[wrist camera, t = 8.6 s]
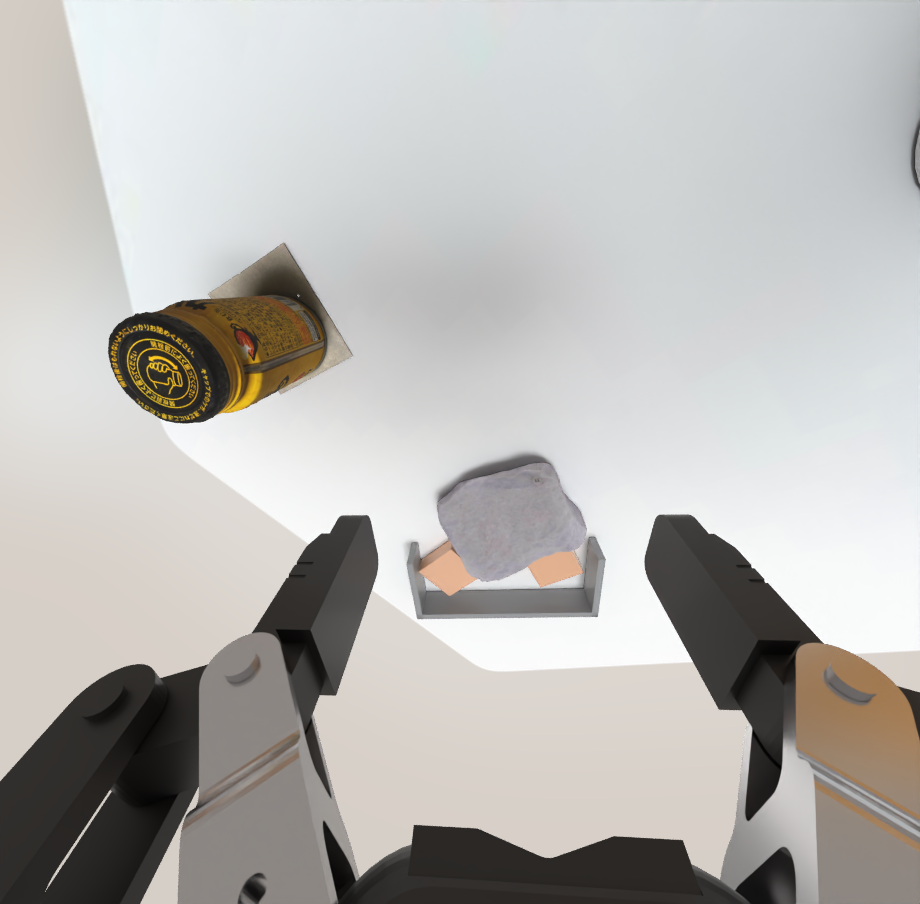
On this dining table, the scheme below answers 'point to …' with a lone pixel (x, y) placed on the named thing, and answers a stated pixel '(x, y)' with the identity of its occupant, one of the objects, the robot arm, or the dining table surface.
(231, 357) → the condiment
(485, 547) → the stone block
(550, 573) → the tile
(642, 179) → the dining table surface
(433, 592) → the frame
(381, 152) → the dining table surface
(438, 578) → the tile
